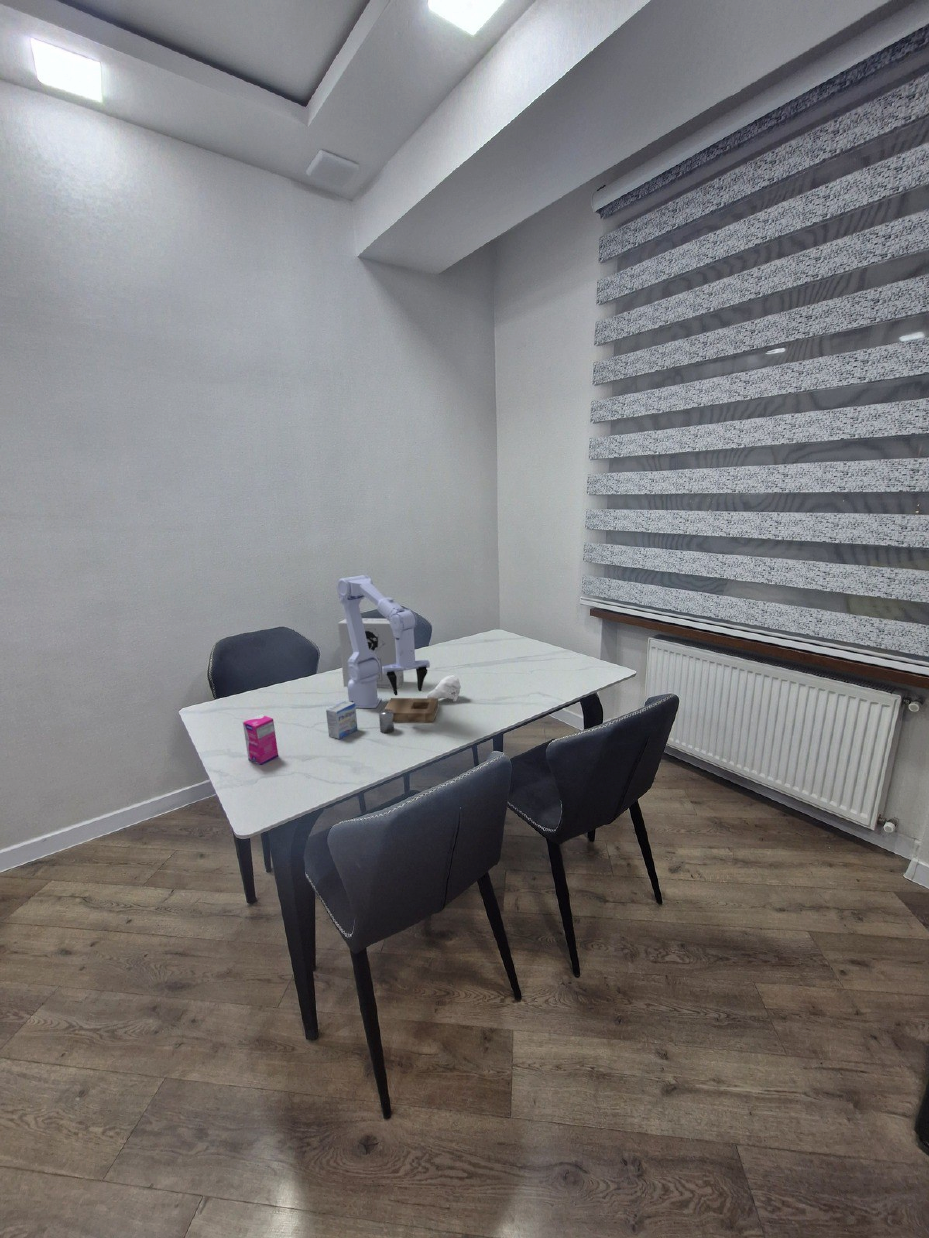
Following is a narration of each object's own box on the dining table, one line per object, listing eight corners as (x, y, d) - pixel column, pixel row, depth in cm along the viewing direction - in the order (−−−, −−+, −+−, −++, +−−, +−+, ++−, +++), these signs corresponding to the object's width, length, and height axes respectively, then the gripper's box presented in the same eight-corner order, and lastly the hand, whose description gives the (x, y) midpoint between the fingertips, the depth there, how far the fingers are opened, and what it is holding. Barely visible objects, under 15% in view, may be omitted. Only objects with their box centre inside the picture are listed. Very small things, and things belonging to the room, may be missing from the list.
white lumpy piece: (461, 676, 168) (429, 686, 162) (464, 699, 170) (433, 710, 165) (452, 671, 173) (421, 681, 168) (455, 693, 175) (425, 703, 170)
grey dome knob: (378, 733, 147) (377, 714, 146) (382, 727, 151) (380, 709, 150) (392, 733, 147) (391, 714, 145) (395, 727, 151) (394, 709, 149)
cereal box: (404, 681, 190) (400, 618, 184) (398, 688, 183) (394, 623, 177) (351, 679, 194) (345, 617, 188) (343, 686, 187) (337, 622, 181)
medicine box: (338, 739, 144) (336, 712, 142) (328, 736, 146) (325, 709, 144) (358, 729, 150) (355, 702, 148) (347, 726, 153) (345, 700, 151)
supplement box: (247, 760, 134) (241, 721, 131) (266, 751, 139) (261, 713, 136) (260, 765, 131) (254, 726, 128) (279, 756, 135) (274, 717, 133)
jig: (382, 721, 155) (382, 712, 154) (391, 706, 167) (391, 698, 166) (432, 722, 153) (432, 713, 153) (438, 706, 165) (438, 698, 164)
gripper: (384, 657, 144) (387, 700, 147) (431, 650, 149) (433, 692, 152) (379, 650, 150) (382, 692, 153) (425, 644, 155) (427, 685, 158)
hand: (407, 692), depth 153 cm, fingers open, 7 cm apart
